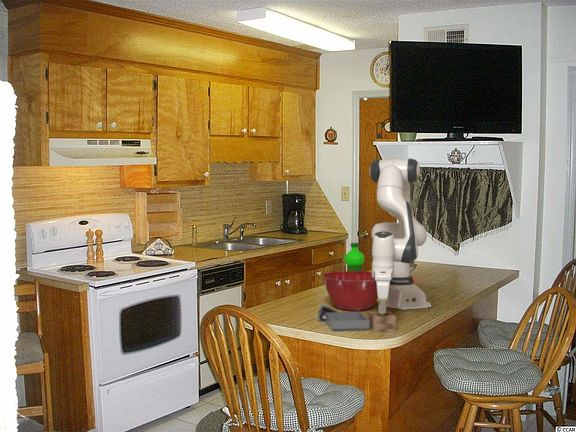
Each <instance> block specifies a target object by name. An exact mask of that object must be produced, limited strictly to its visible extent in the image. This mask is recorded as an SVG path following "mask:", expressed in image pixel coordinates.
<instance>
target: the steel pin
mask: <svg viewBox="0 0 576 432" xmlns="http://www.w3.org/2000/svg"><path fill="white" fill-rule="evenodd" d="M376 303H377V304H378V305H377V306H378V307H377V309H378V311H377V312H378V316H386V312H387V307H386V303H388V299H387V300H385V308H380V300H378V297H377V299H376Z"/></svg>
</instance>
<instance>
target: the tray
mask: <svg viewBox="0 0 576 432" xmlns="http://www.w3.org/2000/svg"><path fill="white" fill-rule="evenodd" d="M325 324H327V326H328V327H329V329H330V330H331V331H332V332H355V331H356V332H357V331H358V332H360V331H362V332H363V331H370V320H369V319H368V316H366V315H365V314H364V313H362V311H341V312H340V311H338V312H334V313H326V322H325Z"/></svg>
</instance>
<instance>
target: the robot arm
mask: <svg viewBox="0 0 576 432" xmlns="http://www.w3.org/2000/svg"><path fill="white" fill-rule="evenodd" d="M368 169H369V177H370V179H371V181H372V182H374V183H376V184H377V185H376V202H377V204H378V206H379V207H380V208H381V209H382V210H384V211H385V212H387V213H388V215H390V216H392V217H394V218H395V219H396V220H397V221H398V222H379V223H375V224H374V226H373V227H372V229H371V238H372V239H371V240H372V243H371V244H370V256H371V257H372V262H371V272H372V277H373V278H374V279H375V281H376V285H377V295H378V297H377V298H378V300H380V308H385V300H387V299H388V303H386V308H389V309H390V308H391V309H398V310H401V311H402V310H404V311H405V310H417V309H429V308H428V307H430V308H432V304H431V303H430V302H429V301H427V296H426V293H425V292H424V291H423V290H422V289H421V288H419V287H418V286H417V285H416V284H415V283H417V282H418V278H417V277H413V276H411V264H412V263H413V262H414V261H415V260H417V259H418V256H419V248H418V247H422V246H423V245H424V244H425V243H426V241H427V237H428V233H427V232H428V231H427V229H426V228H425V227H424V225H422V224H421V223H420V222H419V221H418V220H417V219H416V218H415V216H414V214H413V211H412V206H411V189H410V184H412V183H414V182H416V181H417V180H418V179H419V176H420V173H421V167H420V165H419V162H418V160H416V159H414V158H399V157H395V158H386V159H380V158H379V159H375V160H372V162H371V163H370V166H369V168H368Z"/></svg>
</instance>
